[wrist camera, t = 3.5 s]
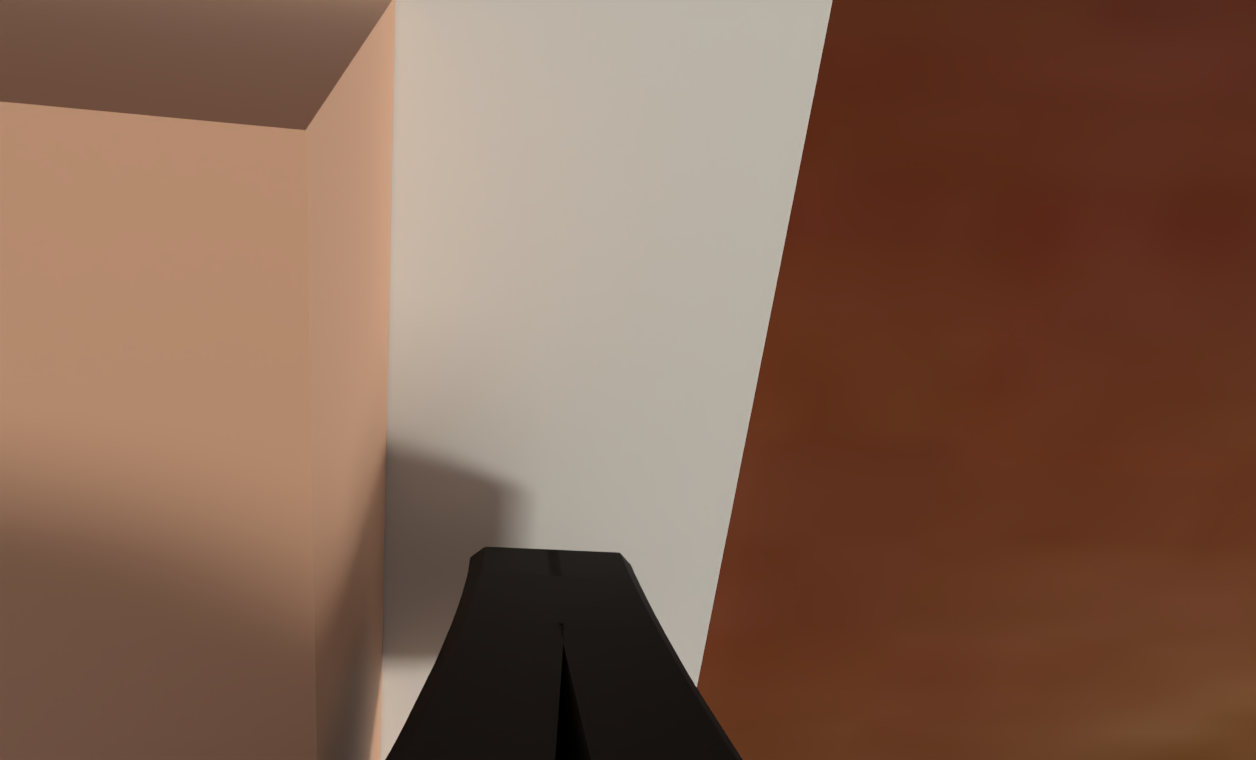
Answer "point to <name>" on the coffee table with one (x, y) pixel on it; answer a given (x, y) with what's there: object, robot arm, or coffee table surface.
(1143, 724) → the coffee table surface
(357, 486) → the t block
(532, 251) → the push mat
